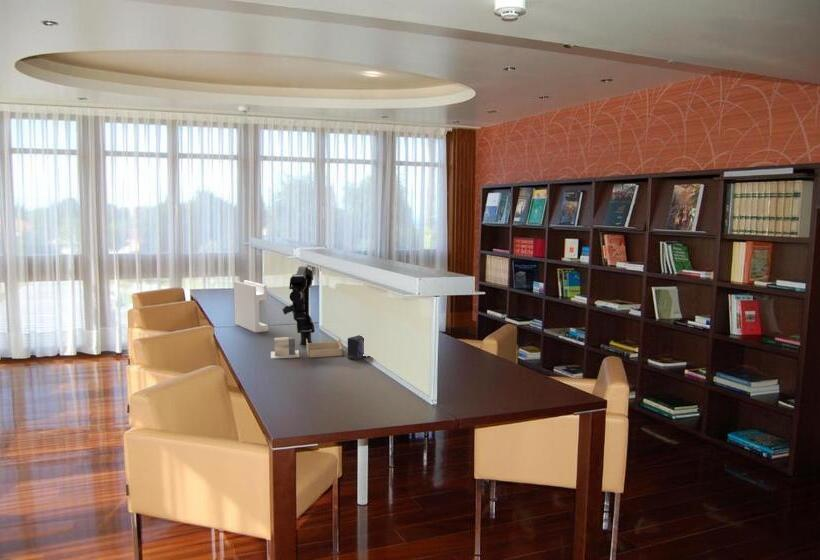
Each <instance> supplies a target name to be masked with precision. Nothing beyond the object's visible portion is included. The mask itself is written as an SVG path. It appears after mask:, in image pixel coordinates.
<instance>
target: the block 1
mask: <svg viewBox="0 0 820 560" xmlns="http://www.w3.org/2000/svg"><path fill="white" fill-rule="evenodd" d="M267 293H268V289H267V284H263V283H259V282H255V281H251V280H246V279H244V280H243V282H241V281H238V280H237V281H236V280H233V294H234V295H233V297H234V299H233V301H234V319H235V320H234V322H235V325H237V326H240V327H242V328H245V329H246V330H249V331H251V332H253V333H254V334H255V333H256V334H257V333H262V332H269V325H268V324H266V323H263V322H261V321H260V301H266V300H268V295H267Z"/></svg>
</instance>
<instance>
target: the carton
mask: <svg viewBox="0 0 820 560" xmlns="http://www.w3.org/2000/svg"><path fill="white" fill-rule="evenodd" d="M305 345H306V353H307V357H308V358H319V357H320V358H322V357H342V356H343V355H344V346H343V341H342V340H341V338H340V337H338V341H329V342H328V341H327V342H312V343H308V341H307V339H306V344H305Z"/></svg>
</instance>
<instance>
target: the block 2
mask: <svg viewBox="0 0 820 560" xmlns="http://www.w3.org/2000/svg"><path fill="white" fill-rule="evenodd" d="M273 341H274V342H273V343H274V351H275V356H276V355H294V354H295V350H296V340H295V337H294V336H290V337H289V336H288V337H287V336H285V337H284V336H283V337H274V340H273Z"/></svg>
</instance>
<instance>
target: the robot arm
mask: <svg viewBox="0 0 820 560" xmlns="http://www.w3.org/2000/svg"><path fill="white" fill-rule="evenodd" d="M313 281H314V273H313V270H312V269H310V268H309V267H308V266H305V265H304V266H303V265H302V266H301V265H300V266H298V269H297V271H296V273H295V274H291V277H290V279H289V287H288V289H289V290H292V291H291V292H290V294H289V300H290V301H291V303H290V304H288V305H285V306H283V307H281V309H282V313H283V314H284V315H287V314H289V313H291V312H292V315H293V320H294V321H295V322H296V331H297V334H300V341H299V345H306V339H307V341H308V343H313V342H312V334H313V333H316V331H315V325H314V321H313V319H312V317H311V315H310V288H311V286H312V285H313Z"/></svg>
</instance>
